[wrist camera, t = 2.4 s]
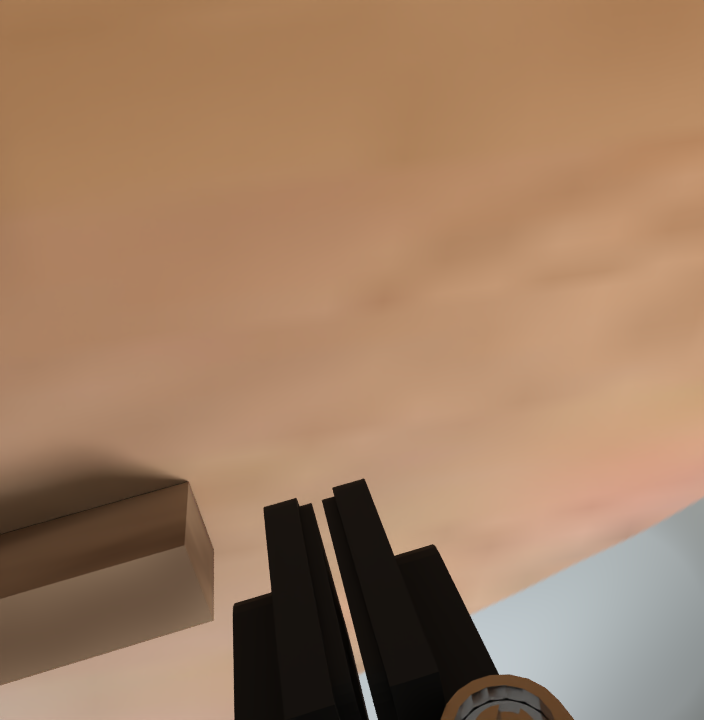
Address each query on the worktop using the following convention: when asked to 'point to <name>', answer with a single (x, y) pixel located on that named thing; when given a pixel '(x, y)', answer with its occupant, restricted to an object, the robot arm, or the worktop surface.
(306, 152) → the worktop surface
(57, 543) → the brown angled block
